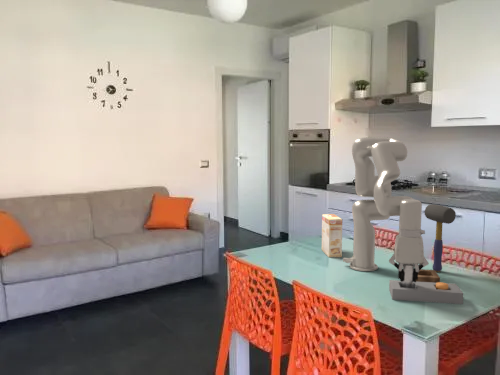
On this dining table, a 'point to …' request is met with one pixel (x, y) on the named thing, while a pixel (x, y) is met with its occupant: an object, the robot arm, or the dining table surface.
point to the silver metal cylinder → (408, 275)
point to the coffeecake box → (332, 235)
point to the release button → (441, 286)
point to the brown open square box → (428, 276)
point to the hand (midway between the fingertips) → (407, 280)
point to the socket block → (425, 292)
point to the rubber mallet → (439, 229)
